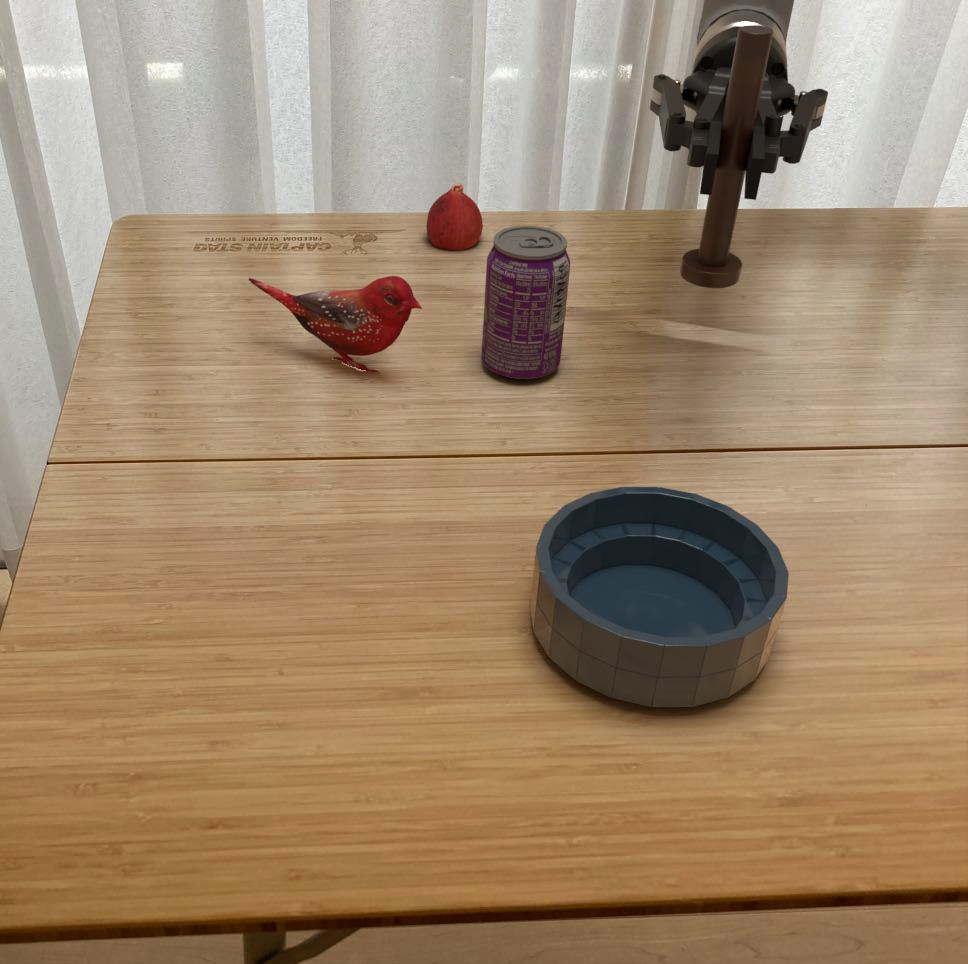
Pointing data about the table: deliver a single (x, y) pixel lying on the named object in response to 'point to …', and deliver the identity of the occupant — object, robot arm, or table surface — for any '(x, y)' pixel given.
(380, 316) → the decorative bird figurine
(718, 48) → the robot arm
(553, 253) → the beverage can
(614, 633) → the bowl
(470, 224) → the red pomegranate
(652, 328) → the table surface
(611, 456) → the table surface
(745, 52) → the stirring stick
